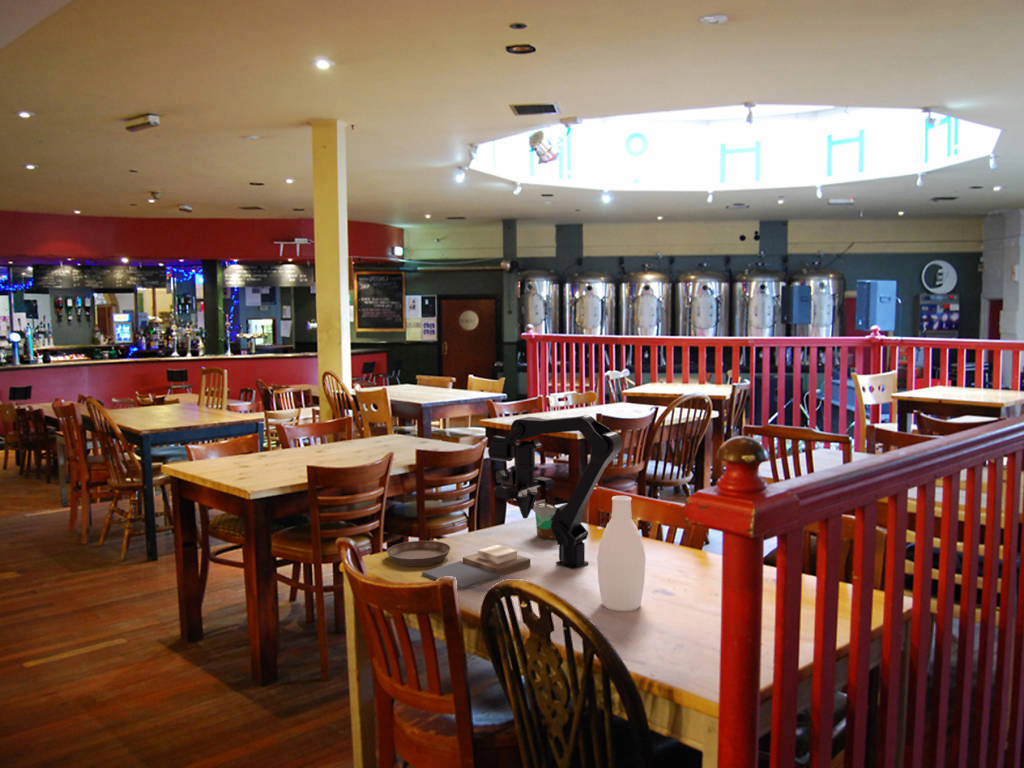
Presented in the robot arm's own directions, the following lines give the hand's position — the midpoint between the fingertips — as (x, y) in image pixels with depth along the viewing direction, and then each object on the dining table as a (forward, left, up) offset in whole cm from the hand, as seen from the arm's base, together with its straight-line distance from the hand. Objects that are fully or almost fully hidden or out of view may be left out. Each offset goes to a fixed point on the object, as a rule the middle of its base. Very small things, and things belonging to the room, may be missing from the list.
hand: (525, 518), depth 221 cm
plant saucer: (+20, +22, -12) cm, 32 cm away
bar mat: (0, +24, -11) cm, 26 cm away
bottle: (-42, +10, -11) cm, 45 cm away
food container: (+10, -18, -11) cm, 23 cm away
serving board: (0, +11, -11) cm, 16 cm away
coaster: (0, +11, -9) cm, 14 cm away
